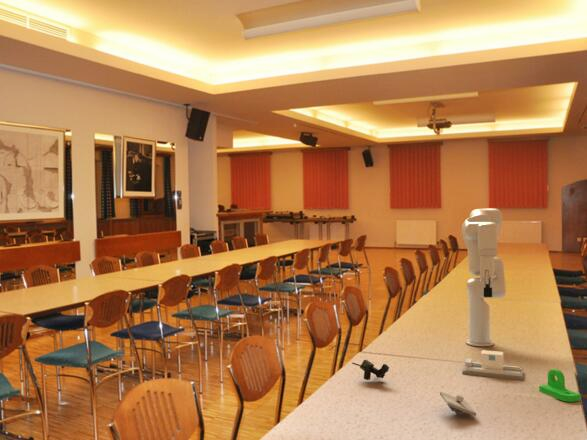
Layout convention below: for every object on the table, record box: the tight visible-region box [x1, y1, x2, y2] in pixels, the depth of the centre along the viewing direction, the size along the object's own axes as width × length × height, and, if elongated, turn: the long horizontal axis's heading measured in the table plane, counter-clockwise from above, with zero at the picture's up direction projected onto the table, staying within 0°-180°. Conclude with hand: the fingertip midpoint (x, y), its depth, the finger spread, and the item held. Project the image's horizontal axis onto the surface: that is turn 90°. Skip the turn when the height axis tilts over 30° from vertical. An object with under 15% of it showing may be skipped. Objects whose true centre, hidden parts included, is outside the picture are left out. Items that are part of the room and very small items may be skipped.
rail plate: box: [461, 357, 524, 381], centre depth 208 cm, size 10×22×4 cm, turn 66°
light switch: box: [439, 391, 477, 417], centre depth 170 cm, size 9×10×5 cm
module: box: [480, 349, 504, 371], centre depth 208 cm, size 5×8×7 cm, turn 66°
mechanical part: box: [538, 368, 582, 403], centre depth 182 cm, size 12×6×8 cm, turn 21°
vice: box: [351, 359, 390, 381], centre depth 201 cm, size 18×9×11 cm
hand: (487, 296), depth 216 cm, fingers closed
